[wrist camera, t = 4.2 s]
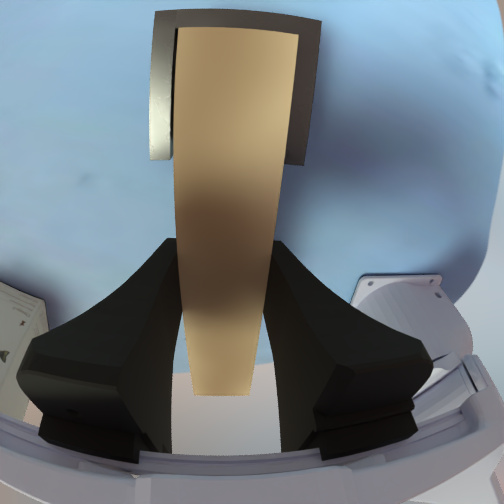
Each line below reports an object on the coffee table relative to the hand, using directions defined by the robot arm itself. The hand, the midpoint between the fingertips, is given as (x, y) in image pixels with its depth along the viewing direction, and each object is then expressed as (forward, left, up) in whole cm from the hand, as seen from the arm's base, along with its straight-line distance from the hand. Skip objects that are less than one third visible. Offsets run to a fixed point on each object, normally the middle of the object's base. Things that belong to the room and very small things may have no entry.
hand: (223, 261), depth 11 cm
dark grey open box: (0, -6, -8) cm, 10 cm away
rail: (0, 0, -3) cm, 3 cm away
